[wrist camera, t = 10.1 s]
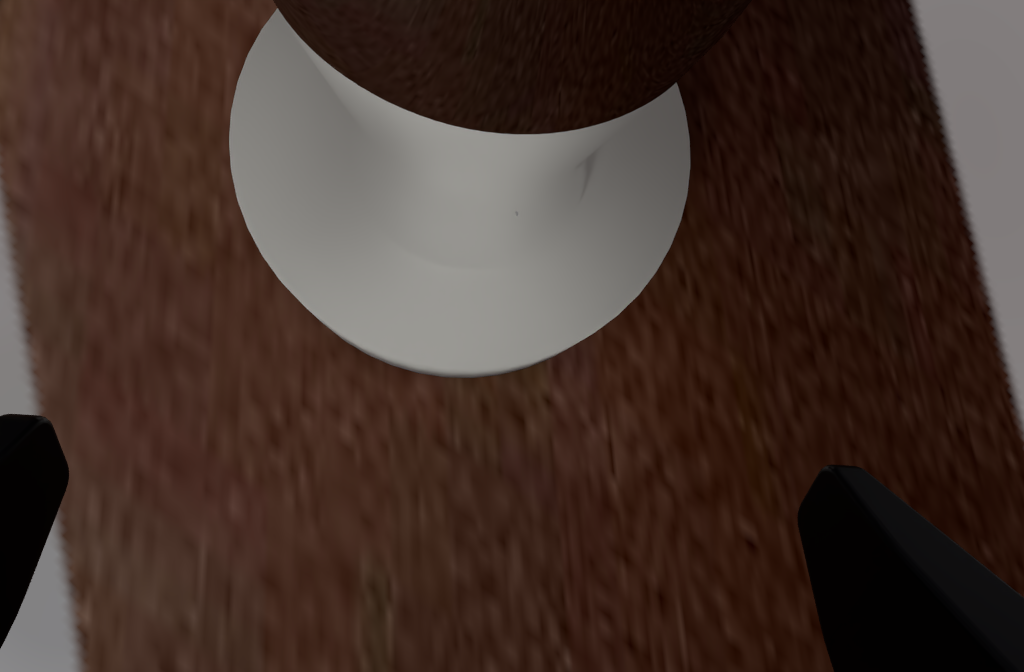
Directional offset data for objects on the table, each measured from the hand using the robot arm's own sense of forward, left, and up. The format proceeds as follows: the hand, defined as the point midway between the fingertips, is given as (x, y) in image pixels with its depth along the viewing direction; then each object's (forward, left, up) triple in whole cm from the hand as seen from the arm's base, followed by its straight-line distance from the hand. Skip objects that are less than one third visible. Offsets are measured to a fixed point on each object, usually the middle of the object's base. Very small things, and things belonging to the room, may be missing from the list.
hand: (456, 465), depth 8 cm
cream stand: (+3, +7, -12) cm, 14 cm away
